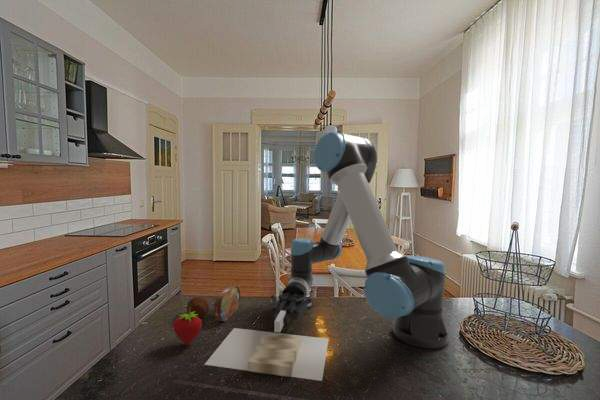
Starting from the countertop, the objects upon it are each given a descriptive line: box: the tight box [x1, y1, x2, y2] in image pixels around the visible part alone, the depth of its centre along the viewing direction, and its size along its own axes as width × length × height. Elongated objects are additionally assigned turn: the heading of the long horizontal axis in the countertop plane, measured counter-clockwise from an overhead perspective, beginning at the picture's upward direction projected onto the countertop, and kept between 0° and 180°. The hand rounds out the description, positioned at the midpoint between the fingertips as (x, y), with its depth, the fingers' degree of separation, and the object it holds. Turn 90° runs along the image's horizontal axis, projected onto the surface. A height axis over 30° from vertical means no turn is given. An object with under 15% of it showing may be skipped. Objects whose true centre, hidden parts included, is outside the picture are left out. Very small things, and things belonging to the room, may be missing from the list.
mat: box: [204, 327, 330, 382], centre depth 77 cm, size 28×18×1 cm, turn 80°
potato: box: [186, 295, 210, 320], centre depth 97 cm, size 7×9×6 cm
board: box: [247, 333, 301, 378], centre depth 74 cm, size 10×2×13 cm
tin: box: [213, 285, 241, 322], centre depth 98 cm, size 15×3×8 cm, turn 168°
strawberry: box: [172, 311, 203, 346], centre depth 80 cm, size 6×8×10 cm
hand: (277, 326), depth 75 cm, fingers closed
